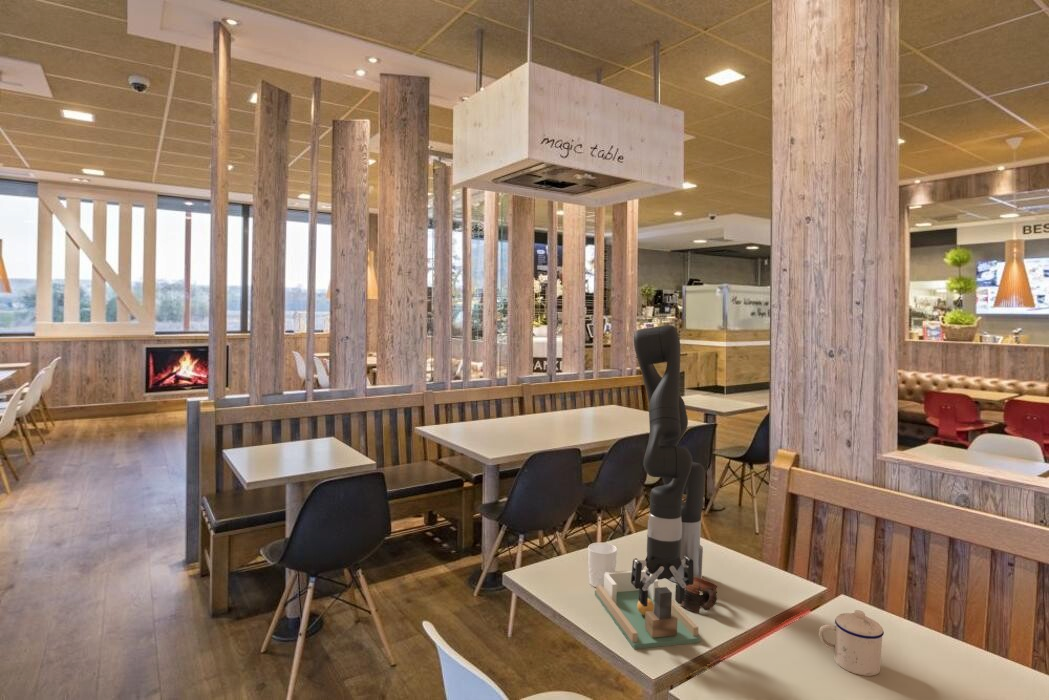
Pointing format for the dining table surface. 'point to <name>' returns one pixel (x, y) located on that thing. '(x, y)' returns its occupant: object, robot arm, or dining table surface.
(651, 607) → the ball
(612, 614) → the pitch
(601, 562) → the white cup
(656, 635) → the striker
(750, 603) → the dining table surface
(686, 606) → the pottery mug
